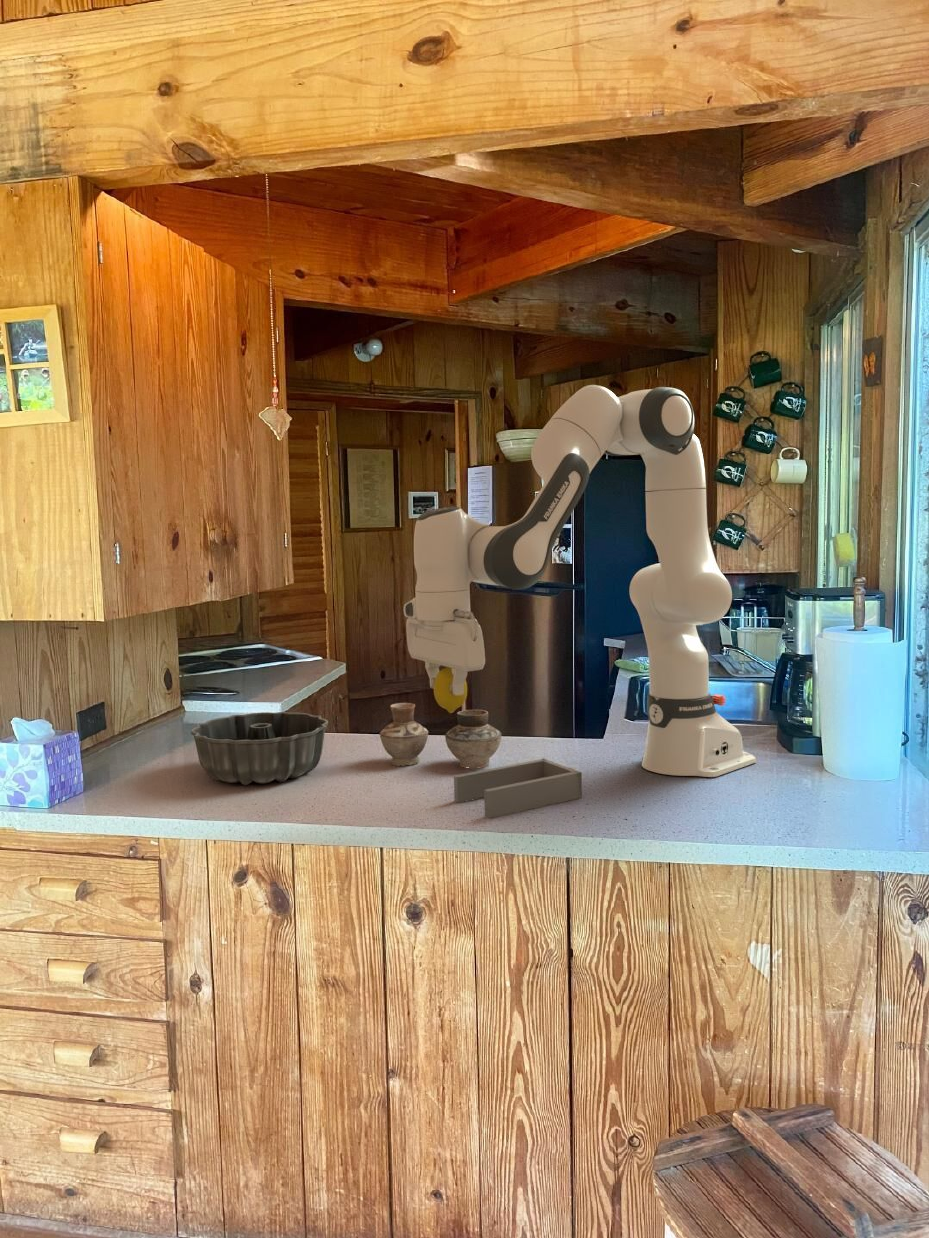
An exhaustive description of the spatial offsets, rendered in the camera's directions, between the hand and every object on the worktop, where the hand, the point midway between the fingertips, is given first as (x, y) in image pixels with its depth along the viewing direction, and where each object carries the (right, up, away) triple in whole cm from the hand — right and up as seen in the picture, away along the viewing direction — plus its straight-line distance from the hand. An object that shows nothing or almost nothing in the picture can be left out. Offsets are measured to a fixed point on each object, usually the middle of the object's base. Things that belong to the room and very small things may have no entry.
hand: (446, 691), depth 151 cm
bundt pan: (-37, -19, +31) cm, 52 cm away
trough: (+12, -19, +9) cm, 25 cm away
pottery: (-2, -18, +34) cm, 38 cm away
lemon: (+1, -4, +1) cm, 4 cm away
